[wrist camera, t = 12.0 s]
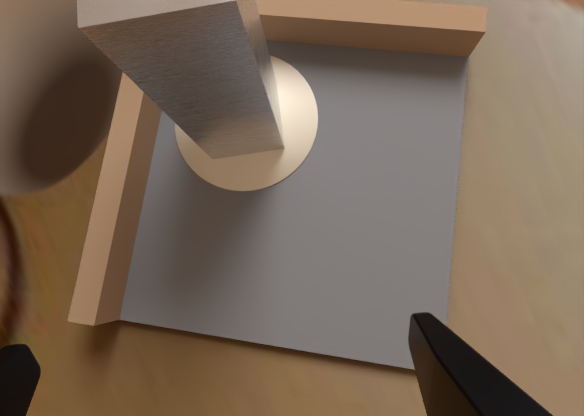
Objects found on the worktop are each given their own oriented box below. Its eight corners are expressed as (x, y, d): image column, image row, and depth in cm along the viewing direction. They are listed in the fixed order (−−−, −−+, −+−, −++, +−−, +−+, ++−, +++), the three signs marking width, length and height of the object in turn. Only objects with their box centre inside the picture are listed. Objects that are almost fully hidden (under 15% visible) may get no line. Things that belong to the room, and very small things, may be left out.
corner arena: (439, 371, 21) (458, 388, 18) (100, 314, 23) (67, 321, 20) (467, 39, 24) (487, 6, 21) (163, 15, 26) (142, -18, 23)
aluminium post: (284, 148, 23) (236, 0, 10) (212, 159, 23) (78, 27, 11) (276, 80, 24) (220, -137, 11) (206, 91, 24) (73, -108, 11)
